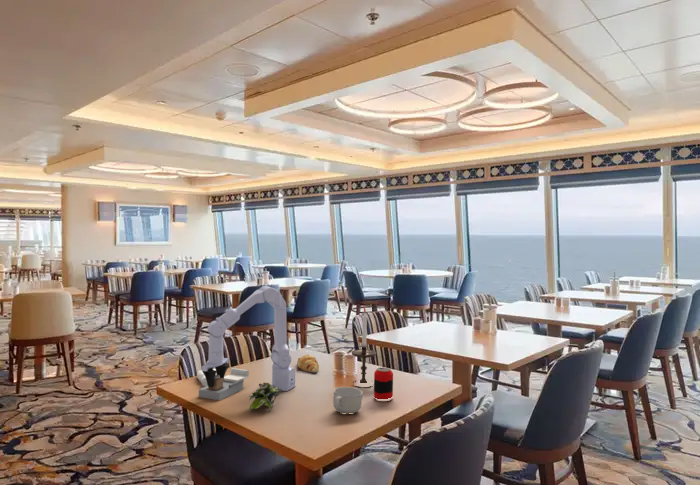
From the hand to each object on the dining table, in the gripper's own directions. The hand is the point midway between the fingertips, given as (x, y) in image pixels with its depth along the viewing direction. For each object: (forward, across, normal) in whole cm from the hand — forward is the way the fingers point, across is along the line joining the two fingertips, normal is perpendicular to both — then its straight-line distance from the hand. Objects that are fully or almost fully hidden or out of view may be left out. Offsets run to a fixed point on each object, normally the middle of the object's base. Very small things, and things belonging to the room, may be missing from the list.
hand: (215, 384), depth 196 cm
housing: (+4, -4, 0) cm, 6 cm away
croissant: (+5, -53, +14) cm, 55 cm away
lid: (+1, -14, 0) cm, 14 cm away
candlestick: (+5, -40, +49) cm, 63 cm away
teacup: (+5, -4, +55) cm, 55 cm away
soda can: (+5, -25, +63) cm, 68 cm away
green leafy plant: (+5, +4, +26) cm, 27 cm away
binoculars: (+5, -16, -15) cm, 23 cm away
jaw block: (+4, 0, 0) cm, 4 cm away
